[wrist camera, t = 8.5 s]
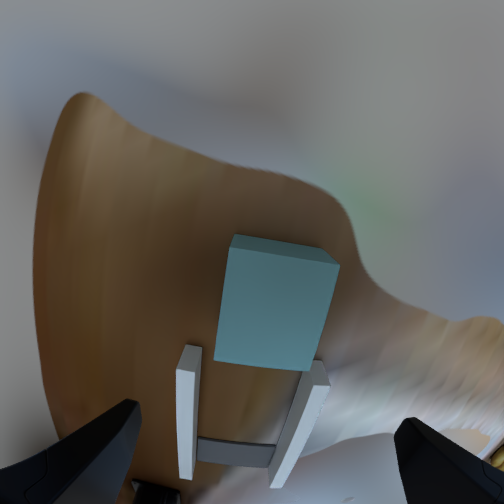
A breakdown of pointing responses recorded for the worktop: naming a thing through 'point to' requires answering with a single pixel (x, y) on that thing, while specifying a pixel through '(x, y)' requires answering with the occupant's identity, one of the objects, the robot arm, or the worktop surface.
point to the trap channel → (237, 453)
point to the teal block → (274, 303)
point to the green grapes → (498, 459)
